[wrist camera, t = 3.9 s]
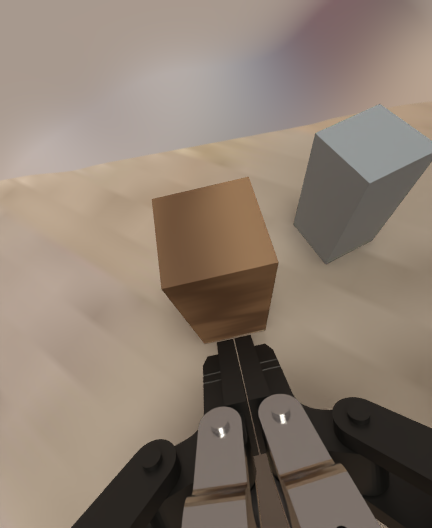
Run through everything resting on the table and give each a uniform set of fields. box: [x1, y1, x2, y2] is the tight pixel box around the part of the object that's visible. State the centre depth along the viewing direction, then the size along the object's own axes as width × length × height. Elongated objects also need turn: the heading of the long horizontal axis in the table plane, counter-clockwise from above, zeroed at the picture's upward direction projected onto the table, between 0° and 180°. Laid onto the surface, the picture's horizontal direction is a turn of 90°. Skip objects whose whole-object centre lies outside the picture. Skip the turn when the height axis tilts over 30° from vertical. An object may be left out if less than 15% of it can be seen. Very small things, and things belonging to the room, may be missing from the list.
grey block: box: [294, 104, 432, 264], centre depth 21 cm, size 5×5×10 cm
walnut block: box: [152, 177, 278, 344], centre depth 18 cm, size 5×5×12 cm
